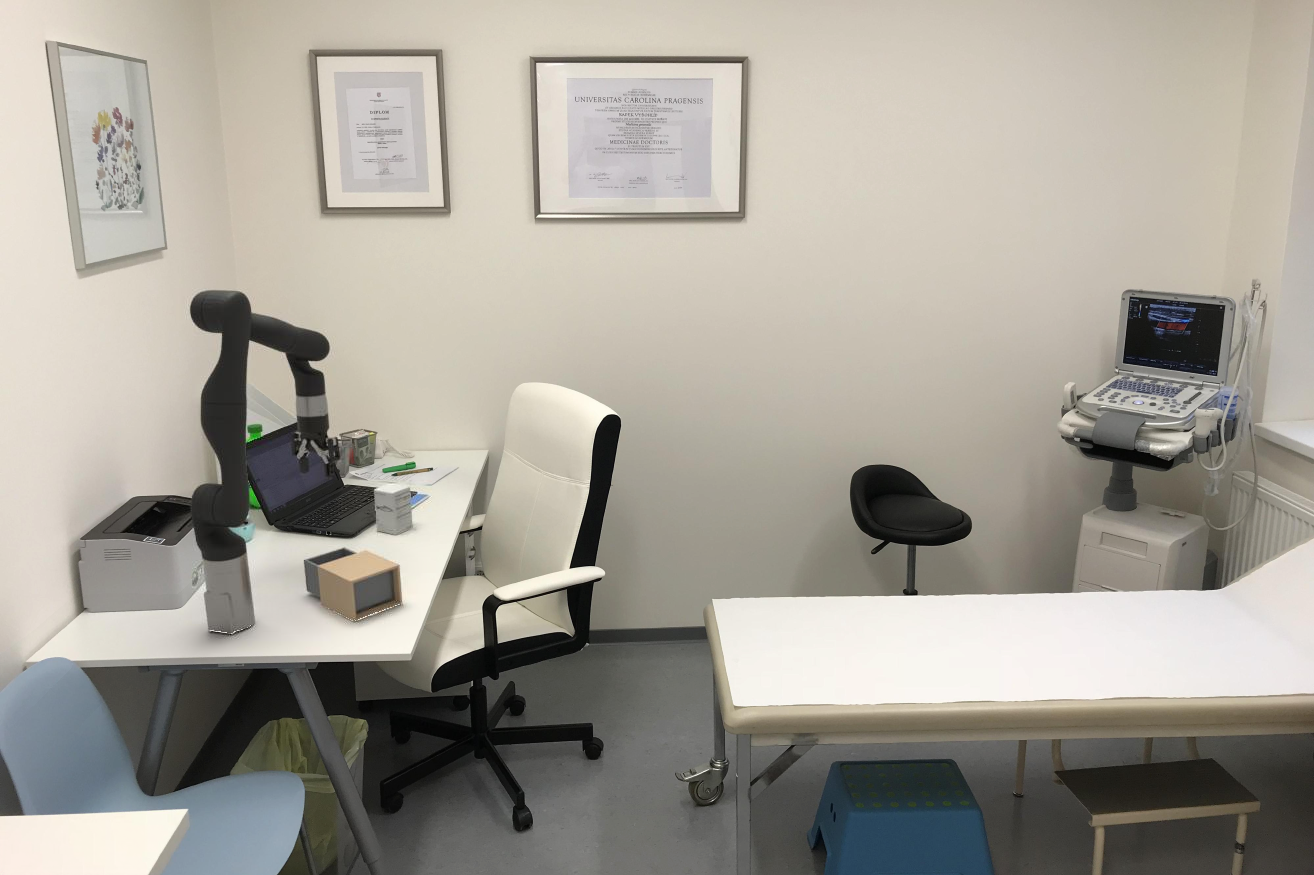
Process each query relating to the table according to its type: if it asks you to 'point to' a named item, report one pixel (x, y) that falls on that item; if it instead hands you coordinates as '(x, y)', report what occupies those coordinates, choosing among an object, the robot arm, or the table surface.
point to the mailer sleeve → (349, 570)
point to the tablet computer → (418, 499)
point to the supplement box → (393, 508)
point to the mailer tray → (364, 591)
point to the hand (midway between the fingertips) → (317, 474)
